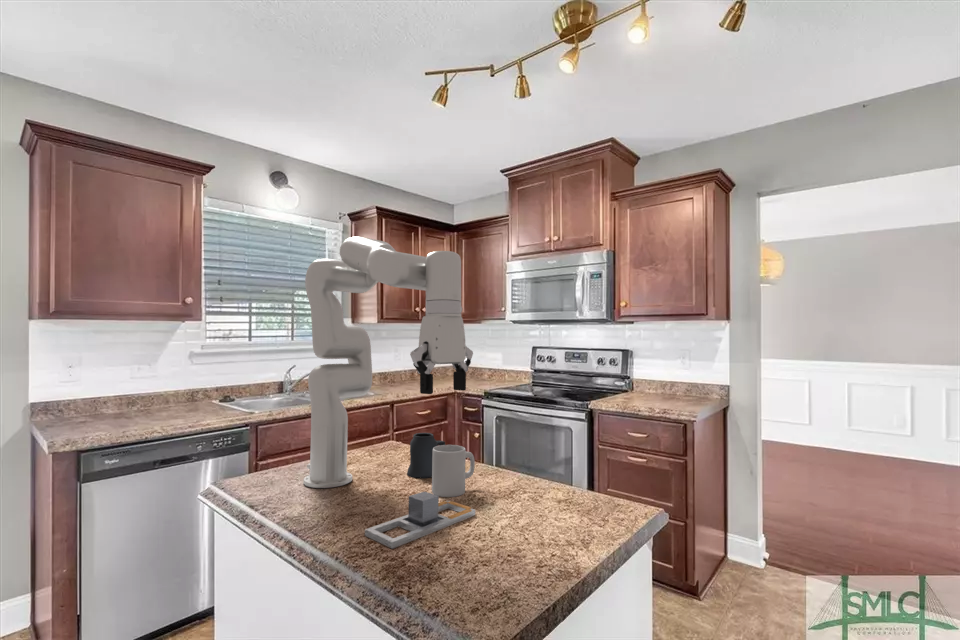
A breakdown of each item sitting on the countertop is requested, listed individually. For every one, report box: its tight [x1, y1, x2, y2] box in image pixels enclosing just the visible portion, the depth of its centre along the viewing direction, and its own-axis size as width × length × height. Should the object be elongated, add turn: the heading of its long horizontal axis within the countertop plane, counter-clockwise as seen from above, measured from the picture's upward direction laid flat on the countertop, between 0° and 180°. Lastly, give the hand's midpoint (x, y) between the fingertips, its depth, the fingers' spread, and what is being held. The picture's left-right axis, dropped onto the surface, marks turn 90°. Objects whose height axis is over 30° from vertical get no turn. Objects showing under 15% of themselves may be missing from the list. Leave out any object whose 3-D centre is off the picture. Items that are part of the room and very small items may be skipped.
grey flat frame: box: [364, 500, 476, 550], centre depth 99 cm, size 9×23×1 cm, turn 139°
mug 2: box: [406, 432, 446, 480], centre depth 138 cm, size 12×9×11 cm
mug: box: [431, 444, 476, 498], centre depth 122 cm, size 12×8×11 cm
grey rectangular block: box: [407, 490, 440, 527], centre depth 99 cm, size 4×4×6 cm
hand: (443, 391), depth 99 cm, fingers open, 9 cm apart
